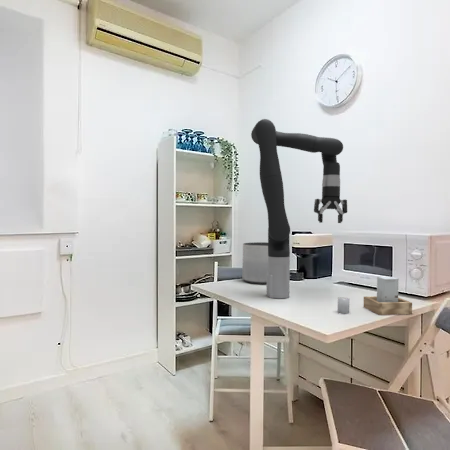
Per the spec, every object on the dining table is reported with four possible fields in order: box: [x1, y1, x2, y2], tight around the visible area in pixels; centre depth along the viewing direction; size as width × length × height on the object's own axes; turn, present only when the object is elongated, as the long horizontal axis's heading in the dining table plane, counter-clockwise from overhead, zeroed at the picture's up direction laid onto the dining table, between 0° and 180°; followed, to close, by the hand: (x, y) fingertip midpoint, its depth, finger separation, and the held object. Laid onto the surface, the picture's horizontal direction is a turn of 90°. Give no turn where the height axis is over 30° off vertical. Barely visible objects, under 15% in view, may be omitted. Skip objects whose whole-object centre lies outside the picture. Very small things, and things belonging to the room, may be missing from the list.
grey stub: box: [337, 296, 350, 315], centre depth 120 cm, size 4×4×5 cm
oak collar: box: [363, 295, 413, 316], centre depth 123 cm, size 12×10×4 cm
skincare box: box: [376, 276, 399, 303], centre depth 123 cm, size 6×4×12 cm
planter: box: [241, 241, 268, 285], centre depth 180 cm, size 23×23×20 cm
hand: (330, 222), depth 148 cm, fingers open, 8 cm apart
